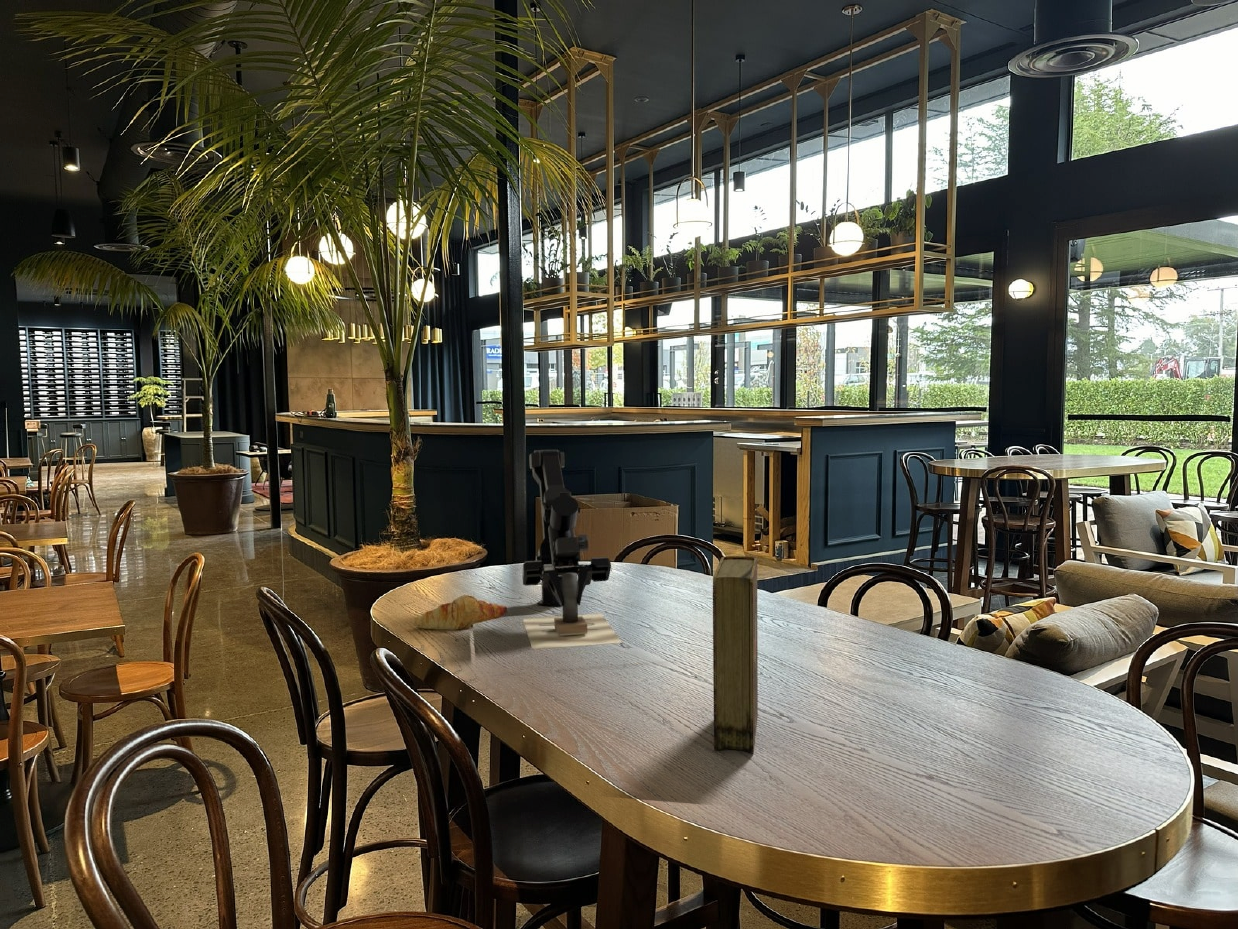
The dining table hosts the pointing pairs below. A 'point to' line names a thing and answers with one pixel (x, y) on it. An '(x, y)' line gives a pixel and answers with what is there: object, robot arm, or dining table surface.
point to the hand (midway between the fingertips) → (570, 605)
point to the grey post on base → (570, 609)
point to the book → (735, 653)
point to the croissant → (459, 614)
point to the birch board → (547, 636)
